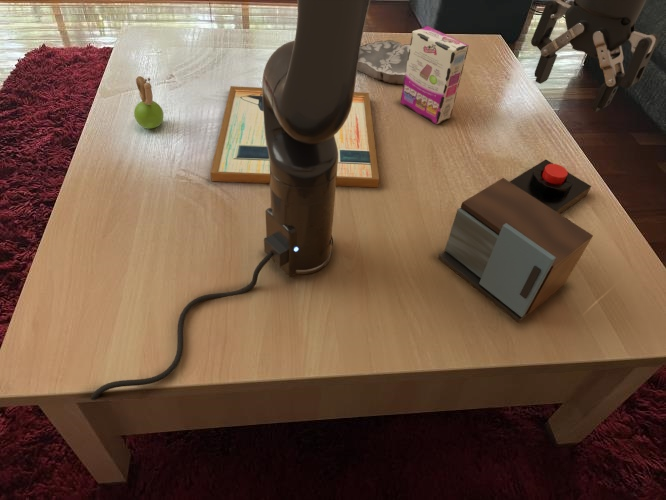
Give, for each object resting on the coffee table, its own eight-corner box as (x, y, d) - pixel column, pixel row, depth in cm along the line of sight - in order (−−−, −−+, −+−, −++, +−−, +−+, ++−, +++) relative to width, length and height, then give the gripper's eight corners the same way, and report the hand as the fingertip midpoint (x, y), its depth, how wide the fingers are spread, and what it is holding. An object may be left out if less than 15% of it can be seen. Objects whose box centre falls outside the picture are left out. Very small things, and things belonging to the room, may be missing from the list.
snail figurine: (145, 139, 102) (132, 82, 93) (133, 123, 105) (119, 67, 97) (172, 131, 104) (161, 75, 96) (158, 116, 108) (147, 60, 99)
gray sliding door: (520, 318, 76) (551, 261, 67) (477, 284, 80) (501, 226, 71) (524, 314, 77) (556, 257, 68) (482, 281, 81) (506, 222, 72)
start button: (556, 187, 94) (559, 180, 92) (537, 176, 96) (540, 168, 94) (568, 179, 95) (572, 172, 94) (549, 168, 97) (553, 160, 96)
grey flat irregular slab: (439, 63, 131) (441, 52, 129) (419, 94, 120) (421, 82, 118) (366, 45, 136) (367, 33, 134) (340, 73, 125) (341, 61, 123)
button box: (550, 221, 93) (558, 204, 90) (504, 191, 98) (511, 174, 95) (586, 195, 98) (595, 178, 96) (542, 168, 103) (549, 151, 101)
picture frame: (368, 92, 116) (379, 179, 95) (367, 100, 117) (377, 187, 96) (230, 86, 114) (210, 172, 93) (231, 93, 115) (211, 181, 95)
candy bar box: (451, 118, 114) (470, 44, 102) (436, 125, 112) (454, 51, 100) (413, 96, 120) (427, 24, 108) (398, 102, 117) (411, 30, 105)
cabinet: (518, 322, 77) (544, 273, 69) (437, 258, 85) (453, 207, 77) (564, 284, 83) (593, 235, 75) (484, 227, 91) (503, 177, 83)
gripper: (551, -49, 61) (508, 80, 72) (671, -8, 54) (601, 128, 65) (585, -59, 64) (538, 66, 76) (701, -22, 57) (630, 109, 69)
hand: (568, 94), depth 71 cm, fingers open, 8 cm apart
